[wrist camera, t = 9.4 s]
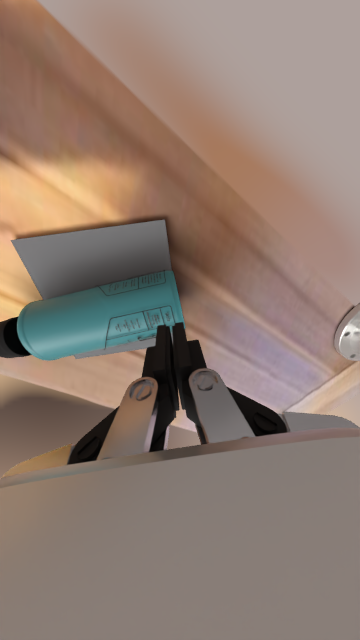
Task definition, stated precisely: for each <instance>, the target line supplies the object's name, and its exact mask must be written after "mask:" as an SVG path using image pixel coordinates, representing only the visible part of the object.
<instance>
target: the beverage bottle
mask: <svg viewBox="0 0 360 640" xmlns="http://www.w3.org/2000/svg"><path fill="white" fill-rule="evenodd" d="M151 273H152V274H150V275H148V273H147V275H146V276H144V274H143V275H141V276H142V277H140V275H139V277H138V278H135V277H136V276H134V278H133V279H131V277H130V279H129V278H128V279H129V280H127V279H126V280H125V281H123V280H122V281H121V280H119V281H120V282H118V281H117V282H115V283H114V282H113V283H112V284H110V283H108V285H107V284H104V285H103V286H101V285H100V286H98V285H96V286H98V287H96V286H95V288H91V289H88V290H84V291H80V292H75V293H71V294H67V295H63V296H59V297H55V298H50V299H46V300H39V301H34V302H31V303H29V304H28V305H26V306H25V307H24V308H23V309H22V311H21V312H20V314H19V317H15V318H11V319H8V320H6V321H2V322H0V357H4V358H14V357H24V356H29V355H33V356H35V357H37V358H39V359H42V360H56V359H59V358H62V357H67V356H71V355H75V354H80V353H84V352H89V351H93V350H98V349H104V348H105V349H106V348H108V347H113V346H117V345H118V347H119V346H121V344H127V343H131V342H134V341H144V340H147V338H148V339H152V338H156V334H157V326H158V325H165V324H166V326H170V331H171V333H172V326H174V325H175V323H179V322H183V323H184V319H183V314H182V309H181V304H180V300H179V295H178V290H177V286H176V281H175V277H174V273H173V271H165V270H164V271H163V272H161V270H160V271H159V273H157V272H156V273H155V274H153V272H151ZM184 329H185V324H184ZM151 337H152V338H151ZM105 349H104V350H105Z"/></svg>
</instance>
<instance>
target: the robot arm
mask: <svg viewBox="0 0 360 640" xmlns="http://www.w3.org/2000/svg"><path fill="white" fill-rule="evenodd" d="M172 335H173V342H172V337H171V331H170V326H166V324H165V325H158V326H157V334H156V343H155V346H152V347H147V351H146V356H145V362H144V367H143V373H142V378H139V379H137V380H135V381H134V382H132V383H131V384H130V385H129V387H128V388H127V390H126V392H125V395H124V397H123V399H122V402H121V404H120V406H119V407H117V408H116V409H115V410H114V411H113V412H112V413H110V414H109V415H108V416H107V417H106V418H105V419H103V420H102V421H101V422H100V423H99V424H98V425H96V426H95V427H94V428H93V429H92V430H91V431H90V432H88V433H87V434H86V435H85V436H84V437H83V438H82V439H81V440H80V441H79V442H78V443H77V444H76V445H73V444H72V443H71V444H68V445H65V446H63V447H60V448H58V449H55V450H52V451H50V452H47V453H45V454H42V455H39V456H37V457H34V458H32V459H29V460H26V461H24V462H21V463H19V464H17V465H16V466H14V467H12V468H11V469H10V470H9V471H8V472H6V473H5V474H4V475H3V476H2V478H0V640H360V428H359V427H358V426H357V425H355V424H354V423H352V422H351V421H349V420H347V419H344V418H342V417H338V416H333V415H320V414H307V413H295V412H283V413H282V414H277V413H276V412H274V411H273V410H271V409H269V408H267V407H265V406H263V405H261V404H260V403H258V402H256V401H254V400H252V399H250V398H248V397H246V396H244V395H242V394H240V393H238V392H236V391H234V390H232V389H230V388H228V387H226V385H225V384H224V382H223V380H222V379H221V377H220V375H219V374H218V373H217V372H215V371H214V370H211V369H207V367H206V363H205V360H204V357H203V353H202V350H201V347H200V343H199V340H193V341H187V339H186V334H185V329H184V323H183V322H179V323H175V325H174V326H172ZM334 345H335V348H336V350H337V352H338V353H339V354H341V355H342V356H343V357H345V358H347V359H349V360H353V361H360V303H359V304H358V305H356V306H355V307H354V308H353V309H352V310H351V311H350V312H349V313H348V314H347V315H346V317H345V318H344V319H343V320H342V322H341V324H340V325H339V327H338V329H337V331H336V334H335V338H334ZM178 390H179V395H180V400H181V405H182V410H184V409H186V415H187V417H188V418H189V419H190V420H191V421H193V422H194V423H195V427H196V430H197V434H198V437H199V440H200V444H201V445H197V446H189V447H182V448H176V449H169V450H167V444H168V436H169V424H170V423H171V422H172V421H173V420H174V418H176V411H177V410H179V397H178Z"/></svg>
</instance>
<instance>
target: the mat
mask: <svg viewBox="0 0 360 640" xmlns="http://www.w3.org/2000/svg"><path fill="white" fill-rule="evenodd" d="M11 242H12V243H13V245H14V247H15V249H16V251H17V253H18V254H19V256H20V258H21V260H22V262H23V264H24V265H25V267H26V269H27V271H28V273H29V274H30V276H31V278H32V280H33V282H34V284H35V285H36V287H37V289H38V291H39V293H40V295H41V296H42V298H43V300H46V299H50V298H55V297H59V296H63V295H67V294H71V293H75V292H80V291H84V290H88V289H91V288H95V286H96V285H98V286H100V285H101V286H103V285H104V284H107V285H108V283H110V284H112V283H113V282H114V283H115V282H117V281H118V282H120V281H119V280H121V281H122V280H123V281H125V280H126V279H127V280H129V279H130V277H131V279H133V278H134V276H136V277H135V278H138V277H139V275H140V277H142V276H141V275H143V274H144V276H146V275H147V273H148V275H150V274H152V273H151V272H153V274H155V273H156V272H157V273H159V271H160V270H161V272H163V271H164V270H165V271H172V268H171V260H170V253H169V246H168V239H167V232H166V225H165V220H158V221H150V222H143V223H135V224H128V225H120V226H113V227H106V228H98V229H91V230H83V231H76V232H68V233H61V234H54V235H46V236H39V237H31V238H24V239H16V240H11ZM128 278H129V279H128ZM98 286H96V287H98ZM171 337H172V342H173V335H172V333H171ZM151 338H152V337H151ZM155 343H156V338H152V339H148V338H147V340H144V341H134V342H131V343H127V344H121V346H119V347H118V345H117V346H113V347H108V348H106V349H105V348H104V349H105V350H104V349H98V350H93V351H89V352H84V353H80V354H75V355H74V357H75V358H76V359H79V358H86V357H92V356H99V355H106V354H112V353H119V352H125V351H132V350H139V349H145V348H147V347H152V346H155Z"/></svg>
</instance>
